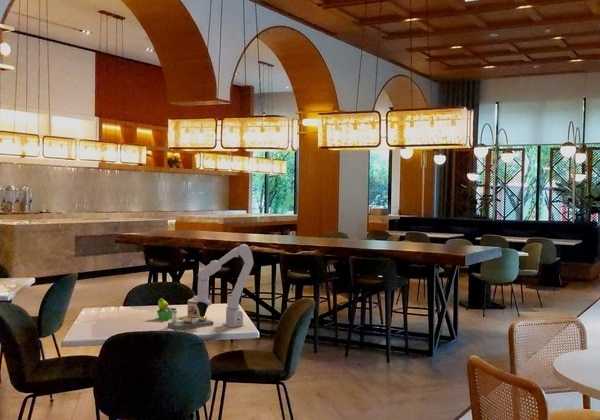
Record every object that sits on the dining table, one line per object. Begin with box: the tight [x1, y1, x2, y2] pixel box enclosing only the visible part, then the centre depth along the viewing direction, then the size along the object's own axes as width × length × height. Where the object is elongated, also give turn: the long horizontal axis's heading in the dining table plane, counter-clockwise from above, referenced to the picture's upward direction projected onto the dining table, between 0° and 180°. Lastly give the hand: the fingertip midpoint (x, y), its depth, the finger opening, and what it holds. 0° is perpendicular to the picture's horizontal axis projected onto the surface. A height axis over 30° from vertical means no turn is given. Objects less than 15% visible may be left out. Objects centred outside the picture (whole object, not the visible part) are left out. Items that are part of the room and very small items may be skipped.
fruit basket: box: [156, 297, 177, 321], centre depth 373 cm, size 11×9×11 cm
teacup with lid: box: [186, 295, 200, 319], centre depth 381 cm, size 12×9×12 cm
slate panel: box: [167, 318, 214, 331], centre depth 356 cm, size 10×22×2 cm, turn 130°
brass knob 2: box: [197, 315, 208, 322], centre depth 359 cm, size 4×4×4 cm
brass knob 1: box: [183, 316, 193, 324], centre depth 354 cm, size 4×4×4 cm
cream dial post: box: [171, 309, 178, 324], centre depth 352 cm, size 3×3×7 cm
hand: (202, 316), depth 359 cm, fingers closed, pressing on brass knob 2
